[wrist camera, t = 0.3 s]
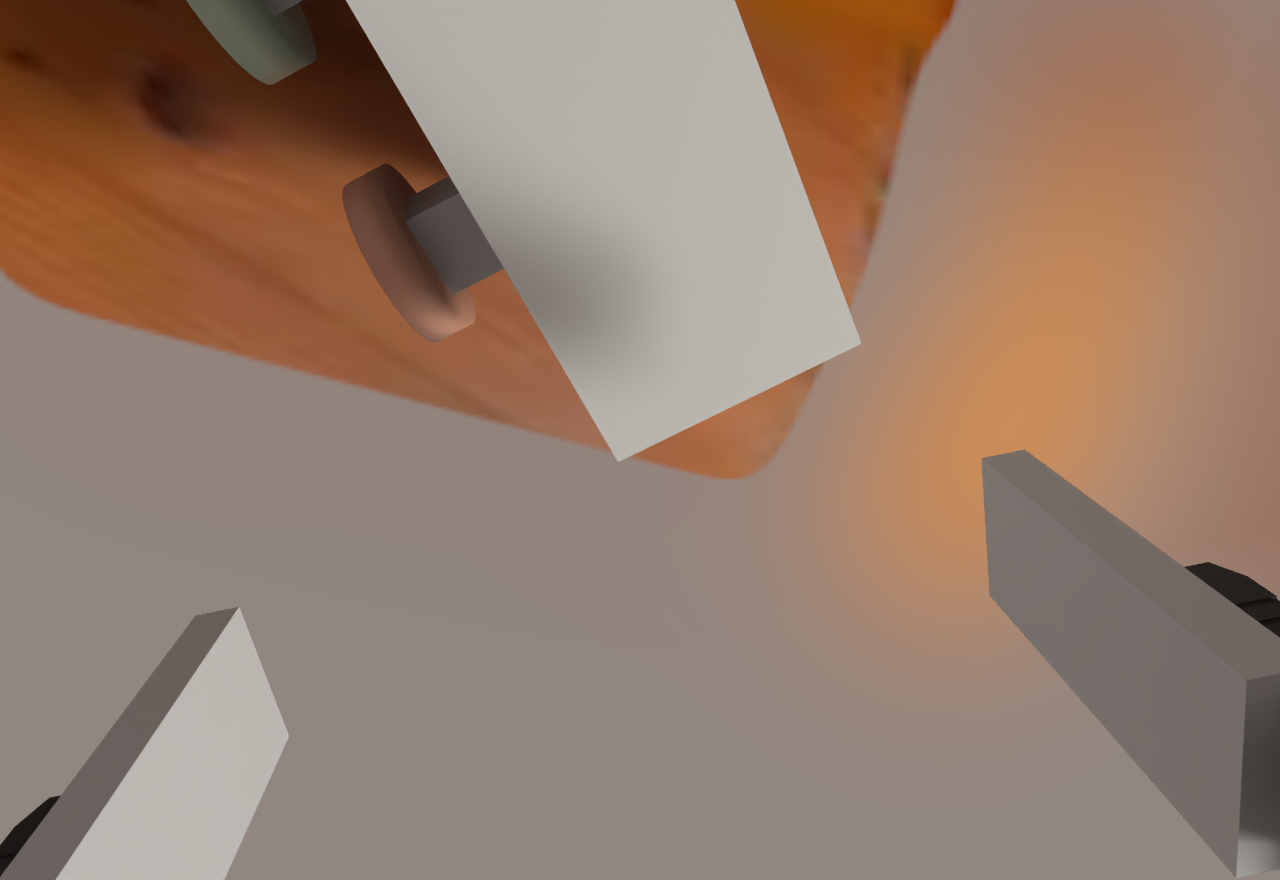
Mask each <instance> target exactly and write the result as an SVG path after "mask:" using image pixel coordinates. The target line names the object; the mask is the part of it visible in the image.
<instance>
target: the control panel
mask: <svg viewBox="0 0 1280 880" xmlns="http://www.w3.org/2000/svg"><path fill="white" fill-rule="evenodd" d="M346 1H347V3H348V5H349V6H350V8H351V10H352V11H353V13H354V15H355V17H356V18H357V20H358V22H359V23H360V25H361V27H362V28H363V30H364V32H365V34H366V35H367V37H368V39H369V40H370V42H371V44H372V45H373V47H374V49H375V50H376V52H377V54H378V56H379V57H380V59H381V61H382V62H383V64H384V66H385V67H386V69H387V71H388V73H389V74H390V76H391V78H392V79H393V81H394V83H395V84H396V86H397V88H398V89H399V91H400V93H401V95H402V96H403V98H404V100H405V101H406V103H407V105H408V106H409V108H410V110H411V112H412V113H413V115H414V117H415V118H416V120H417V122H418V123H419V125H420V127H421V128H422V130H423V132H424V134H425V135H426V137H427V139H428V140H429V142H430V144H431V145H432V147H433V149H434V151H435V152H436V154H437V156H438V157H439V159H440V161H441V162H442V164H443V166H444V167H445V169H446V171H447V173H448V174H449V176H450V178H451V179H452V181H453V183H454V184H455V186H456V188H457V190H458V191H459V193H460V195H461V196H462V198H463V200H464V201H465V203H466V205H467V206H468V208H469V210H470V212H471V213H472V215H473V217H474V218H475V220H476V222H477V223H478V225H479V227H480V229H481V230H482V232H483V234H484V235H485V237H486V239H487V240H488V242H489V244H490V245H491V247H492V249H493V251H494V252H495V254H496V256H497V257H498V259H499V261H500V262H501V264H502V266H503V268H504V269H505V271H506V273H507V274H508V276H509V278H510V279H511V281H512V283H513V284H514V286H515V288H516V290H517V291H518V293H519V295H520V296H521V298H522V300H523V301H524V303H525V305H526V307H527V308H528V310H529V312H530V313H531V315H532V317H533V318H534V320H535V322H536V323H537V325H538V327H539V329H540V330H541V332H542V334H543V335H544V337H545V339H546V340H547V342H548V344H549V346H550V347H551V349H552V351H553V352H554V354H555V356H556V357H557V359H558V361H559V362H560V364H561V366H562V368H563V369H564V371H565V373H566V374H567V376H568V378H569V379H570V381H571V383H572V385H573V386H574V388H575V390H576V391H577V393H578V395H579V396H580V398H581V400H582V401H583V403H584V405H585V407H586V408H587V410H588V412H589V413H590V415H591V417H592V418H593V420H594V422H595V424H596V425H597V427H598V429H599V430H600V432H601V434H602V435H603V437H604V439H605V440H606V442H607V444H608V446H609V447H610V449H611V451H612V452H613V454H614V456H615V457H616V459H617V461H621V460H623V459H625V458H627V457H629V456H632V455H634V454H636V453H638V452H640V451H642V450H644V449H646V448H648V447H650V446H652V445H654V444H656V443H658V442H660V441H662V440H664V439H666V438H668V437H671V436H673V435H675V434H677V433H679V432H681V431H683V430H685V429H687V428H689V427H691V426H693V425H695V424H697V423H699V422H701V421H703V420H705V419H707V418H710V417H712V416H714V415H716V414H718V413H720V412H722V411H724V410H726V409H728V408H730V407H732V406H734V405H736V404H738V403H740V402H742V401H744V400H746V399H749V398H751V397H753V396H755V395H757V394H759V393H761V392H763V391H765V390H767V389H769V388H771V387H773V386H775V385H777V384H779V383H781V382H783V381H785V380H788V379H790V378H792V377H794V376H796V375H798V374H800V373H802V372H804V371H806V370H808V369H810V368H812V367H814V366H816V365H818V364H820V363H822V362H824V361H827V360H829V359H831V358H833V357H835V356H837V355H839V354H841V353H843V352H845V351H847V350H849V349H851V348H853V347H855V346H857V345H859V344H861V341H860V339H859V336H858V333H857V331H856V328H855V325H854V322H853V320H852V317H851V314H850V311H849V309H848V306H847V303H846V301H845V298H844V295H843V293H842V290H841V287H840V284H839V282H838V279H837V276H836V274H835V271H834V268H833V265H832V263H831V260H830V257H829V255H828V252H827V249H826V246H825V244H824V241H823V238H822V236H821V233H820V230H819V228H818V225H817V222H816V219H815V217H814V214H813V211H812V209H811V206H810V203H809V200H808V198H807V195H806V192H805V190H804V187H803V184H802V181H801V179H800V176H799V173H798V171H797V168H796V165H795V163H794V160H793V157H792V154H791V152H790V149H789V146H788V144H787V141H786V138H785V135H784V133H783V130H782V127H781V125H780V122H779V119H778V116H777V114H776V111H775V108H774V106H773V103H772V100H771V98H770V95H769V92H768V89H767V87H766V84H765V81H764V79H763V76H762V73H761V70H760V68H759V65H758V62H757V60H756V57H755V54H754V51H753V49H752V46H751V43H750V41H749V38H748V35H747V33H746V30H745V27H744V24H743V22H742V19H741V16H740V14H739V11H738V8H737V5H736V3H735V0H346Z"/></svg>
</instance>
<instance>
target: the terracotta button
mask: <svg viewBox="0 0 1280 880" xmlns="http://www.w3.org/2000/svg"><path fill="white" fill-rule="evenodd" d="M342 197H343V204H344V208H345V212H346V215H347V218H348V221H349V224H350V227H351V230H352V232H353V234H354V237H355V239H356V241H357V243H358V246H359V248H360V250H361V252H362V254H363V256H364V258H365V260H366V262H367V263H368V265H369V267H370V269H371V271H372V272H373V274H374V276H375V277H376V279H377V281H378V282H379V284H380V286H381V287H382V289H383V290H384V292H385V293H386V295H387V296H388V298H389V299H390V301H391V302H392V303H393V305H394V306H395V308H396V309H397V310H398V311H399V313H400V314H401V315H402V317H403V318H404V319H405V320H406V321H407V322H408V324H409V325H410V326H411V327H412V328H413V329H414V330H415V331H416V332H417V333H418V334H420V335H421V336H422V337H423V338H425V339H426V340H428V341H430V342H438V341H440V340H442V339H444V338H446V337H447V336H449V335H451V334H453V333H455V332H457V331H459V330H461V329H463V328H465V327H467V326H469V325H471V324H473V323H474V322H475V317H476V315H475V308H474V303H473V300H472V296H471V293H470V290H469V288H468V287H469V286H471V285H473V284H475V283H477V282H479V281H481V280H483V279H485V278H486V277H488V276H490V275H492V274H494V273H496V272H498V271H500V270H502V269H504V268H503V266H502V264H501V262H500V261H499V259H498V257H497V256H496V254H495V252H494V251H493V249H492V247H491V245H490V244H489V242H488V240H487V239H486V237H485V235H484V234H483V232H482V230H481V229H480V227H479V225H478V223H477V222H476V220H475V218H474V217H473V215H472V213H471V212H470V210H469V208H468V206H467V205H466V203H465V201H464V200H463V198H462V196H461V195H460V193H459V191H458V190H457V188H456V186H455V184H454V183H453V181H452V179H451V178H450V176H448V177H447V178H445V179H443V180H441V181H439V182H437V183H435V184H433V185H432V186H430V187H428V188H426V189H424V190H422V191H420V192H418V193H416V192H415V190H414V189H413V188H412V186H411V185H410V184H409V183H408V182H407V180H406V179H405V178H404V177H403V176H402V175H401V174H400V173H399V172H398V171H397V170H396V169H395V168H393V167H392V166H390V165H388V164H383V165H381V166H379V167H377V168H376V169H374V170H372V171H370V172H368V173H366V174H364V175H363V176H361V177H359V178H357V179H355V180H353V181H351V182H350V183H348V184H346V185H345V186H344V187H343V194H342Z"/></svg>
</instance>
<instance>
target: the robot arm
mask: <svg viewBox="0 0 1280 880" xmlns="http://www.w3.org/2000/svg"><path fill="white" fill-rule="evenodd" d="M982 475H983V491H984V507H985V525H986V541H987V558H988V574H989V590H990V596H991V597H992V599H993V600H994V601H995V602H996V603H997V604H998V605H999V607H1000V608H1001V609H1002V610H1003V611H1004V612H1005V613H1006V615H1007V616H1008V617H1009V618H1010V619H1011V620H1012V622H1013V623H1014V624H1015V625H1016V626H1017V627H1018V628H1019V629H1020V631H1021V632H1022V633H1023V634H1024V635H1025V636H1026V638H1028V640H1029V641H1030V642H1031V643H1032V644H1033V646H1034V647H1035V648H1036V649H1037V650H1038V651H1039V652H1040V654H1041V655H1042V656H1043V657H1044V658H1045V659H1046V660H1047V662H1048V663H1049V664H1050V665H1051V666H1052V667H1053V669H1054V670H1056V672H1057V673H1058V674H1059V675H1060V676H1061V678H1062V679H1063V680H1064V681H1065V682H1066V683H1067V684H1068V686H1069V687H1070V688H1071V689H1072V690H1073V691H1074V693H1075V694H1076V695H1077V696H1078V697H1079V698H1080V699H1081V700H1082V702H1083V703H1084V704H1085V705H1086V706H1087V707H1088V709H1089V710H1090V711H1091V712H1092V713H1093V714H1094V715H1095V717H1096V718H1097V719H1098V720H1099V721H1100V722H1101V723H1102V725H1103V726H1104V727H1105V728H1106V729H1107V730H1108V731H1109V733H1110V734H1111V735H1112V736H1113V737H1114V738H1115V740H1117V742H1118V743H1119V744H1120V745H1121V746H1122V748H1123V749H1124V750H1125V751H1126V752H1127V753H1128V754H1129V756H1130V757H1131V758H1132V759H1133V760H1134V761H1135V762H1136V764H1137V765H1138V766H1139V767H1140V768H1141V769H1142V771H1143V772H1144V773H1145V774H1146V775H1147V776H1148V777H1149V779H1150V780H1151V781H1152V782H1153V783H1154V784H1155V785H1156V787H1157V788H1158V789H1159V790H1160V791H1161V792H1162V793H1163V795H1164V796H1165V797H1166V798H1167V799H1168V800H1169V801H1170V803H1171V804H1172V805H1173V806H1174V807H1175V808H1176V809H1177V810H1178V812H1179V813H1180V814H1181V815H1182V816H1183V818H1184V819H1185V820H1186V821H1187V822H1188V823H1189V824H1190V826H1191V827H1192V828H1193V829H1194V830H1195V831H1196V832H1197V834H1198V835H1199V836H1200V837H1201V838H1202V839H1203V840H1204V842H1205V843H1206V844H1207V845H1208V846H1209V847H1210V848H1211V850H1212V851H1213V852H1214V853H1215V854H1216V855H1217V856H1218V858H1219V859H1220V860H1221V861H1222V862H1223V863H1224V865H1225V866H1226V867H1227V868H1228V869H1229V870H1230V871H1231V872H1232V874H1233V875H1234V876H1235V877H1236V878H1239V877H1244V876H1249V875H1254V874H1258V873H1263V872H1268V871H1273V870H1278V869H1280V601H1278V599H1277V596H1276V595H1274V594H1273V593H1271V592H1270V591H1268V590H1267V589H1265V588H1264V587H1262V586H1261V585H1259V584H1258V583H1257V582H1255V581H1254V580H1252V579H1250V578H1249V577H1248V576H1245V575H1242V574H1239V573H1237V572H1234V571H1231V570H1229V569H1226V568H1223V567H1220V566H1218V565H1215V564H1212V563H1209V562H1207V563H1202V564H1197V565H1192V566H1187V567H1183V566H1182V565H1180V564H1179V563H1177V562H1176V561H1175V560H1173V559H1172V558H1171V557H1169V556H1168V555H1167V554H1165V553H1164V552H1163V551H1161V550H1160V549H1159V548H1157V547H1156V546H1154V545H1153V544H1152V543H1150V542H1149V541H1148V540H1146V539H1145V538H1144V537H1142V536H1141V535H1140V534H1138V533H1137V532H1136V531H1134V530H1133V529H1131V528H1130V527H1129V526H1127V525H1126V524H1125V523H1123V522H1122V521H1120V520H1119V519H1118V518H1117V517H1115V516H1114V515H1113V514H1111V513H1110V512H1108V511H1107V510H1106V509H1104V508H1103V507H1102V506H1100V505H1099V504H1097V503H1096V502H1095V501H1093V500H1092V499H1091V498H1089V497H1088V496H1087V495H1085V494H1084V493H1083V492H1081V491H1080V490H1078V489H1077V488H1076V487H1074V486H1073V485H1072V484H1070V483H1069V482H1068V481H1066V480H1065V479H1064V478H1062V477H1061V476H1060V475H1058V474H1057V473H1055V472H1054V471H1053V470H1051V469H1050V468H1049V467H1047V466H1046V465H1045V464H1043V463H1042V462H1040V461H1039V460H1038V459H1036V458H1035V457H1034V456H1033V455H1031V454H1030V453H1028V452H1027V451H1025V450H1021V451H1016V452H1011V453H1006V454H1001V455H996V456H991V457H986V458H982ZM288 737H289V735H288V733H287V730H286V727H285V725H284V722H283V720H282V717H281V714H280V712H279V709H278V707H277V704H276V701H275V699H274V696H273V694H272V691H271V689H270V686H269V683H268V681H267V678H266V676H265V673H264V670H263V668H262V666H261V663H260V660H259V657H258V655H257V652H256V650H255V647H254V644H253V642H252V639H251V637H250V634H249V632H248V629H247V627H246V624H245V621H244V619H243V616H242V614H241V611H240V608H239V607H237V608H232V609H227V610H222V611H217V612H212V613H207V614H202V615H197V616H195V617H194V619H193V620H192V621H191V622H190V624H189V625H188V626H187V628H186V629H185V630H184V632H183V633H182V635H181V636H180V637H179V639H178V640H177V641H176V643H175V644H174V645H173V647H172V648H171V649H170V651H169V652H168V653H167V655H166V656H165V657H164V659H163V660H162V662H161V663H160V664H159V665H158V667H157V668H156V669H155V671H154V672H153V673H152V675H151V676H150V677H149V679H148V680H147V681H146V683H145V684H144V685H143V687H142V688H141V689H140V691H139V692H138V693H137V695H136V696H135V698H134V699H133V700H132V701H131V703H130V704H129V705H128V707H127V708H126V709H125V711H124V712H123V714H122V715H121V716H120V717H119V719H118V720H117V721H116V723H115V724H114V725H113V727H112V728H111V729H110V731H109V732H108V734H107V735H106V736H105V738H104V739H103V740H102V742H101V743H100V744H99V746H98V747H97V748H96V750H95V751H94V752H93V754H92V755H91V756H90V758H89V759H88V760H87V762H86V763H85V764H84V766H83V767H82V768H81V770H80V771H79V772H78V774H77V775H76V776H75V778H74V779H73V780H72V782H71V783H70V784H69V786H68V787H67V788H66V790H65V791H64V792H63V794H62V795H61V796H56V797H51V798H49V799H48V800H46V801H45V802H44V803H43V804H41V805H40V806H39V807H38V808H37V809H35V810H34V811H33V812H32V813H31V814H30V815H28V816H27V817H26V818H25V819H24V820H22V821H21V822H20V823H19V824H18V825H16V826H15V827H14V828H13V830H12V831H11V832H10V834H9V835H8V836H7V837H6V839H5V840H4V841H3V842H2V844H1V845H0V880H224V879H225V877H226V874H227V872H228V870H229V868H230V866H231V863H232V861H233V859H234V857H235V854H236V852H237V850H238V848H239V846H240V843H241V841H242V839H243V837H244V835H245V832H246V830H247V828H248V826H249V824H250V821H251V819H252V817H253V815H254V813H255V810H256V808H257V806H258V804H259V801H260V799H261V797H262V795H263V793H264V790H265V788H266V786H267V784H268V781H269V779H270V777H271V775H272V773H273V771H274V768H275V766H276V764H277V762H278V759H279V757H280V755H281V753H282V750H283V748H284V746H285V744H286V742H287V740H288Z"/></svg>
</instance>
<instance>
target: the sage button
mask: <svg viewBox="0 0 1280 880" xmlns="http://www.w3.org/2000/svg"><path fill="white" fill-rule="evenodd" d="M186 1H187V2H188V4H189V5H190V7H191V8H192V9H193V11H194V12H195V13H196V15H197V16H198V17H199V19H200V20H201V21H202V23H203V24H204V25H205V27H206V28H207V29H208V30H209V32H210V33H211V34H212V35H213V37H214V38H215V39H216V40H217V41H218V42H219V44H220V45H221V46H222V47H223V48H224V49H225V50H226V51H227V53H228V54H229V55H230V56H231V57H232V58H233V59H234V60H235V61H236V62H237V63H238V64H239V65H240V66H241V67H242V68H243V69H245V70H246V71H247V72H248V73H249V74H250V75H252V76H253V77H254V78H256V79H257V80H259V81H261V82H262V83H265V84H268V85H273V84H275V83H277V82H278V81H280V80H282V79H284V78H286V77H287V76H289V75H291V74H293V73H295V72H296V71H298V70H300V69H302V68H304V67H305V66H307V65H309V64H311V63H313V62H314V61H315V60H316V58H317V52H316V46H315V42H314V39H313V36H312V33H311V31H310V28H309V25H308V23H307V21H306V18H305V16H304V14H303V12H302V10H301V8H300V6H299V4H298V3H299V2H301V1H302V0H186Z"/></svg>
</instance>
